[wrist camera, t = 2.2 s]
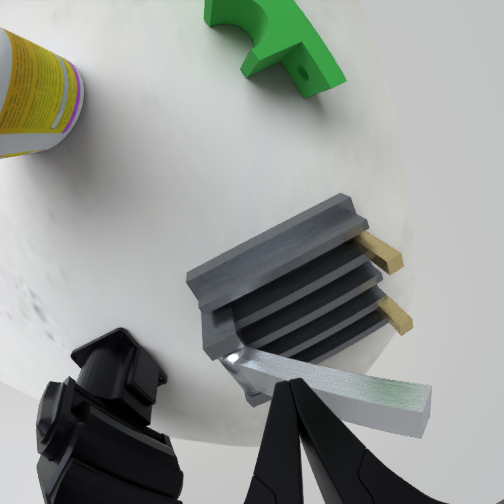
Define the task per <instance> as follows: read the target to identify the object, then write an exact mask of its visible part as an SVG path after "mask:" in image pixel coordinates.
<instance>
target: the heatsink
mask: <svg viewBox="0 0 504 504" xmlns="http://www.w3.org/2000/svg"><path fill="white" fill-rule="evenodd" d="M367 229H369V225H368V222H367V219H365V218H363V217H361V216H359V215H357V214H356V212H355V209H354V206H353V203H352V200H351V197H349V196H347V195H344V194H342V193H339V194H338V195H336V196H334V197H332V198H330V199H328V200H326V201H324V202H322V203H320V204H318V205H316V206H314V207H312V208H310V209H308V210H306V211H304V212H302V213H300V214H298V215H296V216H294V217H292V218H291V219H289V220H287V221H285V222H283V223H281V224H279V225H277V226H275V227H273V228H271V229H269V230H267V231H265V232H263V233H261V234H260V235H258V236H256V237H254V238H252V239H250V240H248V241H246V242H244V243H242V244H240V245H238V246H237V247H235V248H233V249H231V250H229V251H227V252H225V253H223V254H221V255H219V256H217V257H216V258H214V259H212V260H210V261H208V262H206V263H204V264H202V265H200V266H198V267H197V268H195V269H193V270H191V271H189V272H187V278H186V283H187V284H188V286H189V287H190V289H191V290H192V292H193V293H194V295H195V296H196V298H197V299H198V301H199V309H200V310H201V317H202V340H203V350H204V351H205V352H206V354H207V355H208V356H209V357H210V358H211V360H212V361H213V360H215V359H218V358H220V357H222V356H224V355H227V354H229V353H231V352H233V351H235V350H238V349H240V348H242V347H244V343H245V344H246V346H247V347H249V348H253V349H256V350H260V351H263V352H267V353H271V354H274V355H278V356H282V357H286V358H290V359H294V360H298V361H302V362H306V363H310V364H314V365H316V364H318V363H320V362H322V361H324V360H325V359H327V358H329V357H331V356H333V355H335V354H337V353H338V352H340V351H342V350H344V349H346V348H347V347H349V346H351V345H353V344H354V343H356V342H358V341H359V340H361V339H363V338H364V337H366V336H368V335H369V334H371V333H373V332H374V331H376V330H378V329H379V328H381V327H382V326H384V325H386V324H387V323H390V324H391V325H392V326H393V327H394V328H395V330H396V331H397V332H398V333H399V334H400V335H403V334H405V333H406V332H408V331H409V330H411V329H412V328H413V322H412V318H411V317H410V316H409V315H408V314H407V313H406V312H405V311H404V310H402V309H401V308H400V307H399V306H398V305H397V304H396V303H395V302H394V301H393V300H392V299H391V298H390V297H388V296H387V295H386V294H385V293H384V292H383V291H382V290H381V289H380V288H379V287H377V283H379V282H380V281H382V280H383V277H382V273H381V272H380V271H379V270H377V269H376V268H375V267H374V266H372V264H371V261H372V262H374V263H375V264H376V265H378V266H379V267H380V268H381V269H383V270H384V271H385V272H386V273H388V274H389V275H391V274H393V273H394V272H396V271H397V270H399V269H401V268H402V267H404V265H403V260H402V255H401V253H400V252H399V251H397V250H395V249H394V248H392V247H391V246H389V245H388V244H386V243H384V242H383V241H381V240H380V239H378V238H376V237H375V236H373V235H371V234H370V233H368V232H366V231H365V230H367ZM370 260H371V261H370ZM243 341H244V342H243ZM244 392H245V391H244ZM245 397H246V400H247V401H248V403H249V404H250V405H251V406H252V407H255V406H258V405H260V404H262V403H265V402H267V401H269V400H272V397H271V396H269V395H266V394H264V393H261V392H259V393H257V394H248V393H246V392H245Z"/></svg>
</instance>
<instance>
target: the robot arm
mask: <svg viewBox="0 0 504 504" xmlns="http://www.w3.org/2000/svg"><path fill="white" fill-rule="evenodd" d="M119 333H121V334H123V335H120V334H119ZM75 355H76V356H77V357H76V356H75ZM71 358H72V360H73V361H74V362H75V363H76V364H77V365H78V366H79V367H80V368H81V371H80V374H79V377H78V379H77V382H76V381H75V380H74V379H72V378H71V377H70V376H69V377H68V378H67V379H66V380H65V381H64V382H63V383H60V382H59V383H57V382H52V381H50V382H49V383H48V384H47V386H46V389H45V391H44V393H43V395H42V398H41V401H40V404H39V409H38V415H37V422H36V433H37V450H38V453H39V454H41V456H40V459H39V461H38V464H37V473H38V478H39V482H40V486H41V490H42V494H43V498H44V502H45V504H183V503H182V501H179V500H177V499H178V498H179V496H180V494H181V491H182V487H183V476H184V475H183V472H182V471H181V470H180V467H179V464H178V461H177V457H176V455H175V453H174V451H173V448H172V445H171V442H170V439H169V436H167V435H165V434H163V433H162V434H160V433H158V432H156V431H154V430H152V429H150V428H148V427H147V426H148V425H150V423H151V412H152V405H154V404H155V403H156V394H157V387H158V386H160V385H163V384H165V383H167V376H166V375H165V373H164V372H163V371H162V370H161V369H160V368H159V366H158V365H157V364H156V363H155V362H154V361H153V359H152V358H151V357H150V356H149V355H148V354H147V353H146V352H145V351H144V349H143V348H142V347H140V346H139V345H138V344H137V343H136V342H135V340H134V339H133V338H132V337H131V336H130V335H129V333H128V332H127V331H126V330H125V329H123V328H117V329H115V330H113V331H111V332H109V333H107V334H105V335H103V336H101V337H99V338H97V339H95V340H93V341H91V342H89V343H87V344H85V345H83V346H81V347H79V348H77V349H75V350H73V351H72V353H71ZM160 378H162V379H160ZM299 436H300V437H299ZM300 439H301V442H302V445H303V447H304V450H305V453H306V455H307V458H308V460H309V463H310V466H311V468H312V471H313V473H314V476H315V478H316V481H317V484H318V486H319V489H320V491H321V494H322V496H323V499H324V501H325V504H448V503H444V502H441V501H438V500H435V499H433V498H431V497H429V496H427V495H425V494H424V493H422V492H421V491H419V490H418V489H416V488H415V487H413V486H412V485H411V484H409V483H408V482H406V481H405V480H403V479H402V478H401V477H399V476H398V475H396V474H395V473H394V472H392V471H391V470H390V469H389V468H387V467H386V466H385V465H384V464H383V463H382V462H381V461H380V460H379V459H378V458H377V457H376V456H375V455H374V454H373V453H372V452H371V451H370V450H369V449H366V446H365V445H363V443H362V442H361V441H360V440H359V439H358V438H357V437H356V436H355V435H354V434H353V433H352V432H351V431H350V430H349V429H348V428H347V427H346V425H344V423H343V422H342V421H341V420H340V419H339V418H338V417H337V416H336V415H335V414H334V413H333V412H332V410H331V409H330V408H329V407H328V406H327V405H326V404H325V403H324V402H323V401H322V400H321V398H320V397H319V396H318V395H317V394H316V393H315V392H314V391H313V390H312V389H311V387H310V386H309V385H308V384H307V383H306V382H305V381H304V380H303V379H302V378H300V377H299V378H294V379H290V380H289V382H288V381H287V380H285V381H280V382H277V383H276V384H275V387H274V391H273V396H272V400H271V404H270V409H269V413H268V417H267V422H266V426H265V430H264V434H263V438H262V442H261V446H260V450H259V454H258V458H257V462H256V465H255V469H254V473H253V474H254V476H253V477H252V480H251V484H250V487H249V490H248V493H247V496H246V499H245V502H244V504H304V497H303V481H302V480H303V479H302V464H301V449H300ZM496 504H504V500H502V501H500V502H498V503H496Z"/></svg>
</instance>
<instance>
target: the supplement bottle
mask: <svg viewBox="0 0 504 504" xmlns="http://www.w3.org/2000/svg"><path fill="white" fill-rule="evenodd" d="M83 99H84V86H83V81H82V78H81V75H80V73H79V71H78V70H77V68H76V67H75V66H74V65H73V64H72V63H71V62H69V61H68V60H66V59H64V58H62V57H60V56H58V55H56V54H55V53H53V52H51V51H49V50H47V49H45V48H43V47H41V46H38V45H36V44H34V43H33V42H30V41H28V40H26V39H24V38H22V37H20V36H18V35H15V34H13V33H11V32H9V31H7V30H5V29H3V28H0V159H2V158H8V157H14V156H20V155H26V154H33V153H38V152H43V151H46V150H48V149H50V148H52V147H54V146H56V145H57V144H59V143H60V142H61V141H62V140H63V139H64V138H65V137H66V136H67V135H68V134H69V132H70V131H71V130H72V128H73V127H74V125H75V123H76V121H77V119H78V117H79V115H80V112H81V109H82V105H83Z"/></svg>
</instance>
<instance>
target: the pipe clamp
mask: <svg viewBox="0 0 504 504" xmlns="http://www.w3.org/2000/svg"><path fill="white" fill-rule="evenodd" d="M204 20H205V22H206V23H207V24H208V26H209V27H211V26H214V25H218V24H232V25H235V26H238V27H240V28H242V29H243V30H245V31H246V32H247V33H248V34H249V35H250V37H251V39H252V41H253V44H254V48H252V49H251V51H250V52H249V54H248V56H247V58H246V59H245V61H244V63H243V65H242V67H241V68H240V70H241V71H242V73H243V74H244V76H245V77H246V78H248V77H250V76H252V75H254V74H255V73H257V72H259V71H261V70H263V69H265V68H267V67H270V66H272V65H274V64H276V63H278V62H281V63H282V65H283V66H284V68H285V69H286V71H287V72H288V74H289V75H290V77H291V78H292V80H293V82H294V83H295V85H296V86H297V88H298V90H299V91H300V93H301V95H302V96H303V98H306V97H309V96H312V95H314V94H317V93H320V92H323V91H325V90H328V89H331V88H333V87H335V86H337V85H340V84H342V83H344V82H346V81H347V80H346V78H345V76H344V75H343V73H342V71H341V69H340V68H339V66H338V64H337V63H336V61H335V60H334V58H333V56H332V55H331V53H330V51H329V50H328V48H327V47H326V45H325V44H324V42H323V41H322V39H321V38H320V36H319V35H318V33H317V32H316V30H315V29H314V27H313V26H312V24H311V23H310V22H309V20H308V19H307V17H306V16H305V15H304V13H303V12H302V11H301V9H300V8H299V7H298V5H297V4H296V3H295V1H294V0H205V8H204Z"/></svg>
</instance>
